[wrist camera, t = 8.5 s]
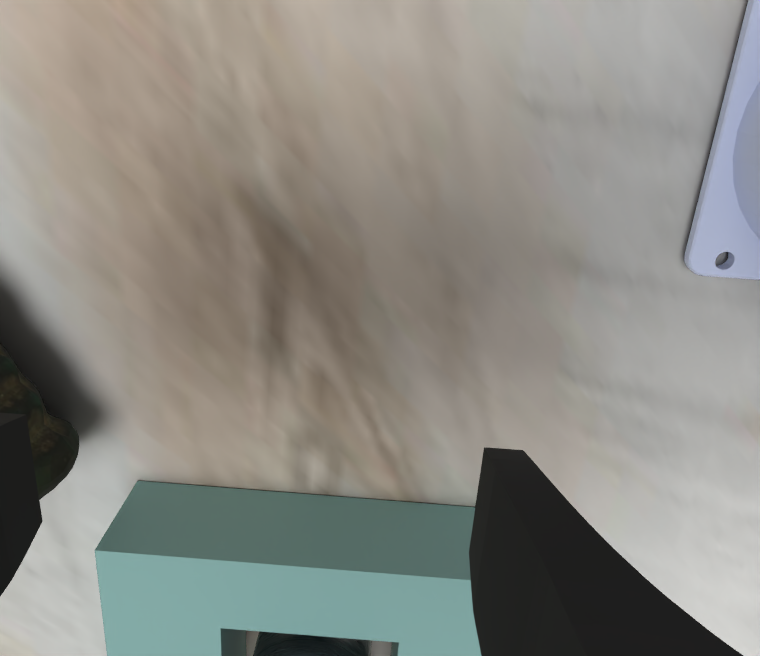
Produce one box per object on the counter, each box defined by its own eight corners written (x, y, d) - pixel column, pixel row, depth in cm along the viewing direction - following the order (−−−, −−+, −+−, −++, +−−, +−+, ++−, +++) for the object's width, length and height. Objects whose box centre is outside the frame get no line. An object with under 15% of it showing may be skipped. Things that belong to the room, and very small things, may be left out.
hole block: (513, 510, 23) (530, 585, 20) (474, 731, 28) (483, 822, 24) (137, 480, 23) (94, 550, 20) (156, 705, 28) (123, 792, 24)
